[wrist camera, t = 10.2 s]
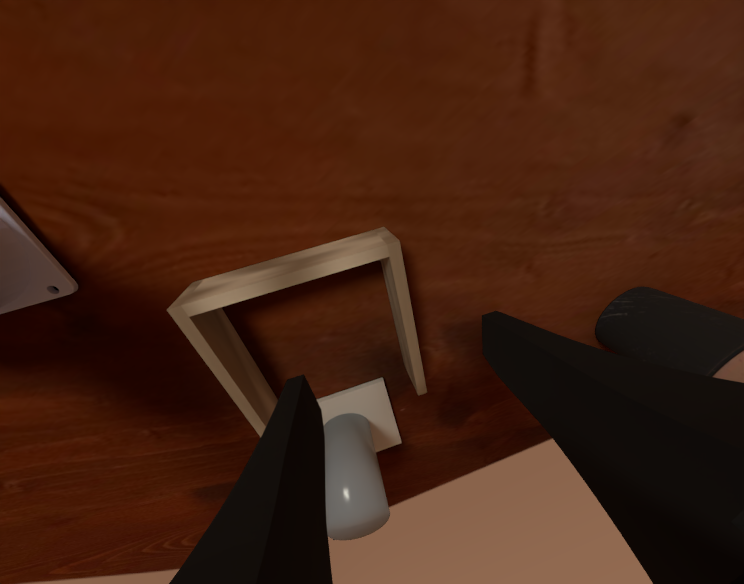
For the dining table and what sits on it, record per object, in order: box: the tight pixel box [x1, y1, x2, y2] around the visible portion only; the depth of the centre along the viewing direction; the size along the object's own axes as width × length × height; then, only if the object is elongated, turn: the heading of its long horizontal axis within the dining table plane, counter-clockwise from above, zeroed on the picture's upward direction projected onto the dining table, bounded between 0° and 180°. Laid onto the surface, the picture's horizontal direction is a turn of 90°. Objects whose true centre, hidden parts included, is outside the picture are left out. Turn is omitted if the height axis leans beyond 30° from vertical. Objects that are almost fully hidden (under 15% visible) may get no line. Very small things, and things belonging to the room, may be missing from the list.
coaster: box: [317, 377, 402, 452], centre depth 26 cm, size 10×10×1 cm
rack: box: [167, 227, 427, 437], centre depth 19 cm, size 13×13×4 cm
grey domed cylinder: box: [324, 413, 390, 540], centre depth 23 cm, size 7×5×8 cm
